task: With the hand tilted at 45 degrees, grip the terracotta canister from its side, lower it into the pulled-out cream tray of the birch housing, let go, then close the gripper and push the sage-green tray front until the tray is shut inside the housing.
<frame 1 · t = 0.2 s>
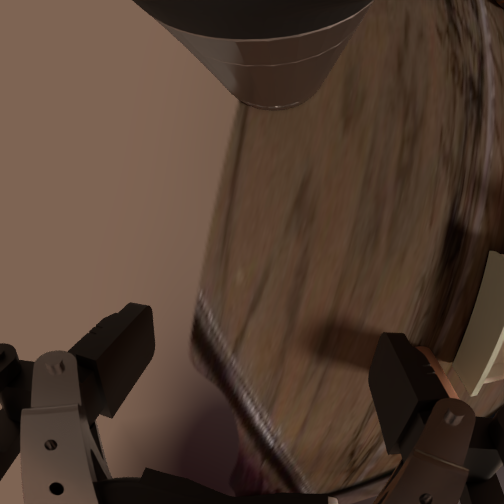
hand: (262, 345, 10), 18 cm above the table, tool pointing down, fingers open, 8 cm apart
mug: (313, 501, 44), on the table
canister: (414, 363, 30), on the table
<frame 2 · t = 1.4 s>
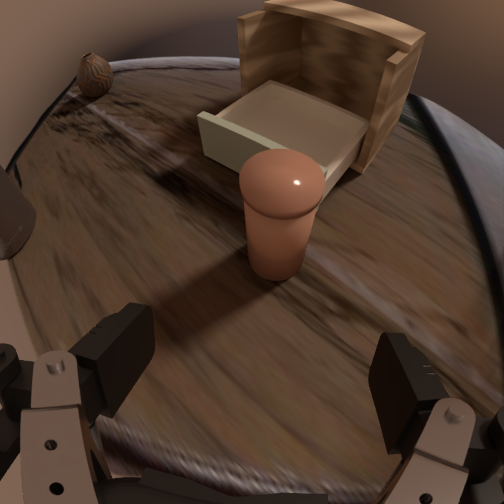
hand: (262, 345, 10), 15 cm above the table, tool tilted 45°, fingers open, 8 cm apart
vase: (100, 92, 47), on the table
housing: (324, 117, 39), on the table
tray: (289, 130, 33), point 3 cm above the table, slide at 8.0 cm
canister: (275, 255, 29), on the table
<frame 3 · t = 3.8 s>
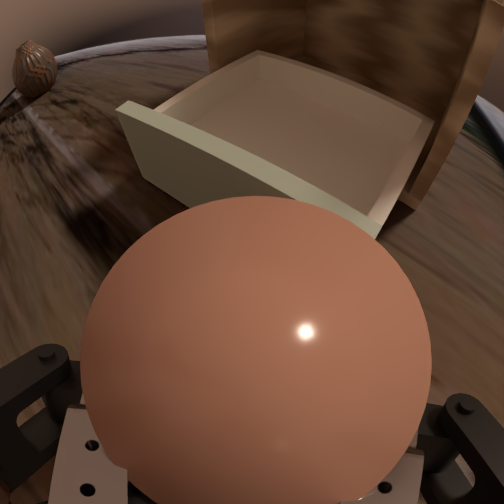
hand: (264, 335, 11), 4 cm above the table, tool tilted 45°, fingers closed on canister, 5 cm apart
vase: (43, 90, 32), on the table
housing: (345, 110, 24), on the table
tray: (290, 129, 17), point 3 cm above the table, slide at 8.0 cm
canister: (259, 390, 14), on the table, touching gripper
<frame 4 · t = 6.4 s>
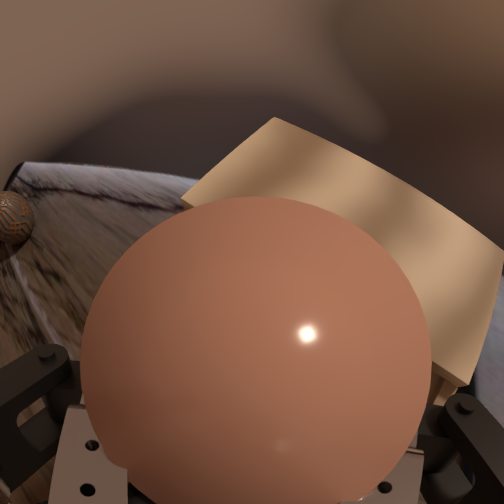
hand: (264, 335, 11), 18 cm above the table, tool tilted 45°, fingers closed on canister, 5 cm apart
vase: (24, 232, 36), on the table
housing: (303, 335, 28), on the table
canister: (259, 391, 14), point 14 cm above the table, touching gripper
when the fingers open (8 cm above the table, at t = 8.7 s): canister drops 2 cm, resting on tray.
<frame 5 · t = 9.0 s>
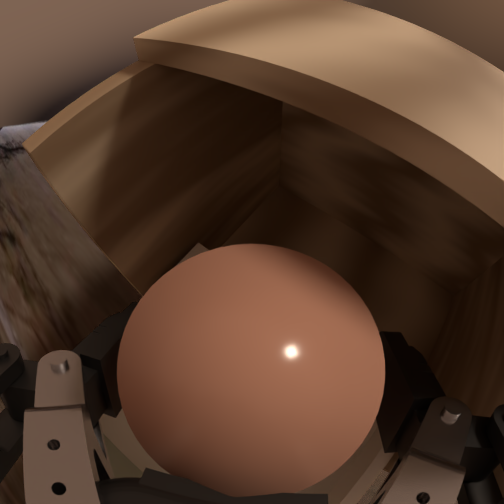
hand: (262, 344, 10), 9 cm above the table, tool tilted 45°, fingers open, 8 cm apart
housing: (324, 308, 20), on the table
tray: (229, 428, 13), point 3 cm above the table, slide at 8.0 cm, touching canister
canister: (258, 394, 15), point 2 cm above the table, touching tray
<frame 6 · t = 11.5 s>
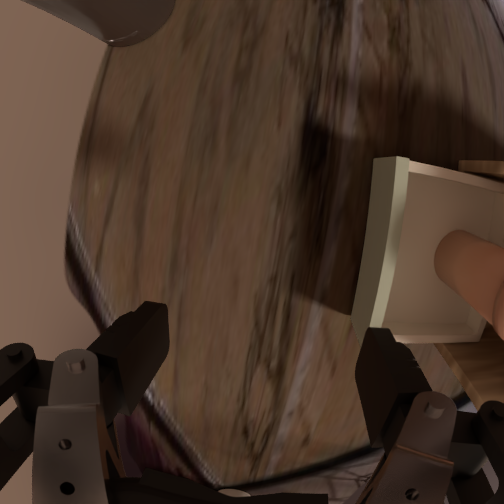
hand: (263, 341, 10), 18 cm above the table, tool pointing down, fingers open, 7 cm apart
mug: (225, 494, 40), on the table
housing: (494, 257, 25), on the table
tray: (442, 259, 22), point 3 cm above the table, slide at 8.0 cm, touching canister
canister: (456, 257, 23), point 2 cm above the table, touching tray
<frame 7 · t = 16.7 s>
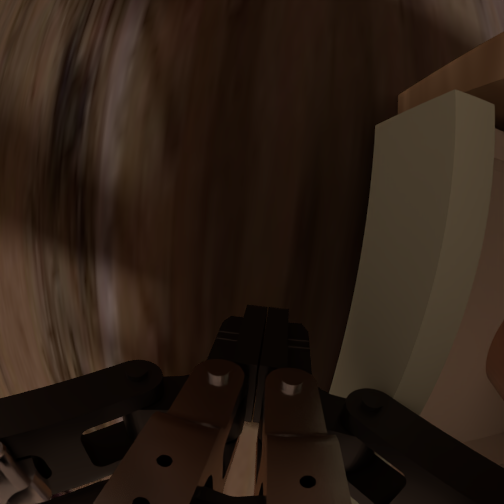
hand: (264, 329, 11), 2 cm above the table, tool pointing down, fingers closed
housing: (490, 319, 11), on the table
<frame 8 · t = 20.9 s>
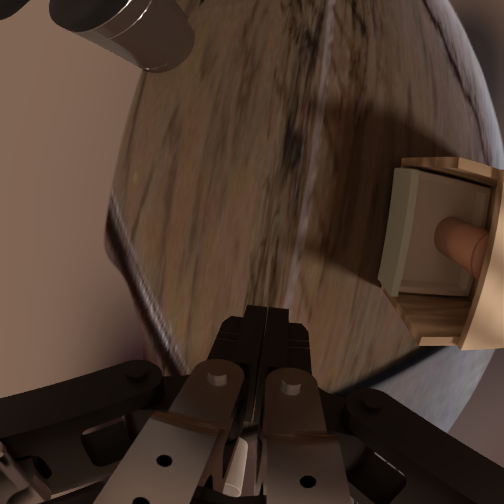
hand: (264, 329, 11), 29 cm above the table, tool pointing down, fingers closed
mug: (224, 442, 52), on the table
housing: (436, 231, 37), on the table
tray: (439, 235, 34), point 3 cm above the table, slide at -0.2 cm, touching canister
canister: (449, 235, 34), point 2 cm above the table, touching tray
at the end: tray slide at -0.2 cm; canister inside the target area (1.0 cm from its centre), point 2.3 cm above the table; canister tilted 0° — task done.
